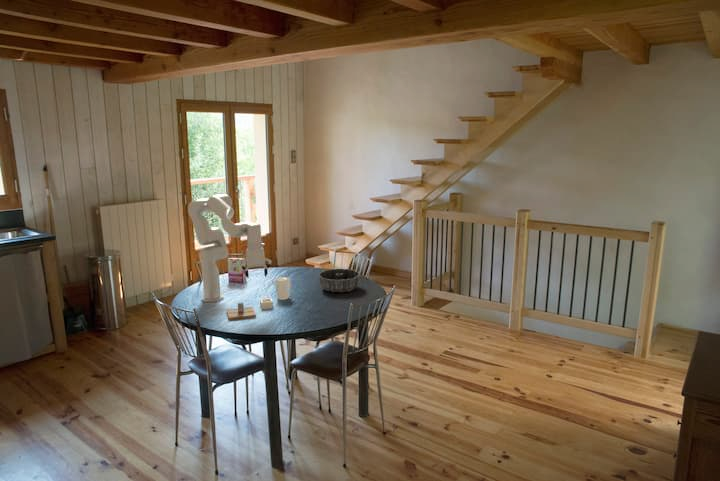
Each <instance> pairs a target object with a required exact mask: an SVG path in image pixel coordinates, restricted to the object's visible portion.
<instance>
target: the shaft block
mask: <svg viewBox="0 0 720 481" xmlns="http://www.w3.org/2000/svg"><path fill="white" fill-rule="evenodd" d="M226 315H227V317H228V321H238V320H245V319H254V318H257V314H256V311H255V310H254V307H253V306H249V307H248V306H247V307H245V306H244V302H243V301H242V302H238V303H237V308H230V309H226Z"/></svg>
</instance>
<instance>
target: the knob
mask: <svg viewBox="0 0 720 481" xmlns="http://www.w3.org/2000/svg"><path fill="white" fill-rule="evenodd" d="M259 306H260V309H261V310H270V309H274V301H273V299H272V298H271V297H270V298H269V297H267V298H260V299H259Z"/></svg>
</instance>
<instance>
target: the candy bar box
mask: <svg viewBox="0 0 720 481" xmlns="http://www.w3.org/2000/svg"><path fill="white" fill-rule="evenodd" d="M226 259H227V275H228V283H229V284H245V283H247V277H246V274H245V270H244V269H242V267H241V266H240V263H241V262H242V261H244V260H246V257H245V258H244V257H229V258H226ZM243 266H244V267H246V266H247V265H246V263H244V264H243Z"/></svg>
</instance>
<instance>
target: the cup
mask: <svg viewBox="0 0 720 481" xmlns="http://www.w3.org/2000/svg"><path fill="white" fill-rule="evenodd" d="M274 286H275V290H276V296H277V299H278V300H280V301H285V300H288V299H290V290H291V278H290V277H288V276H279V277H276V278H275V279H274Z"/></svg>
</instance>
